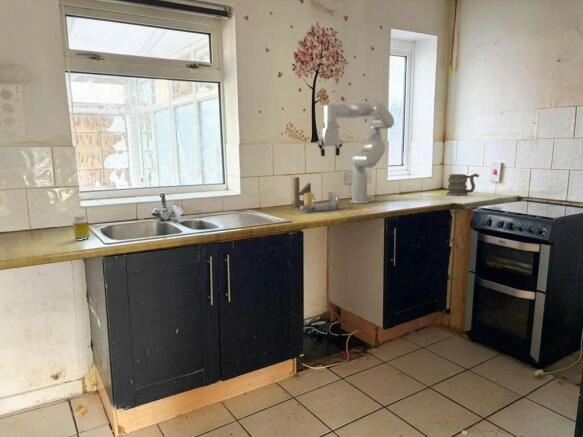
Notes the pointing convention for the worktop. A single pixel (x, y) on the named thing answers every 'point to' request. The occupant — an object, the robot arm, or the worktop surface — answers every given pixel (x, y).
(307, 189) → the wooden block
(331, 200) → the trammel beam
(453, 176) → the tankard
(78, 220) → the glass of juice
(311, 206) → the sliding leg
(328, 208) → the bolt plate
